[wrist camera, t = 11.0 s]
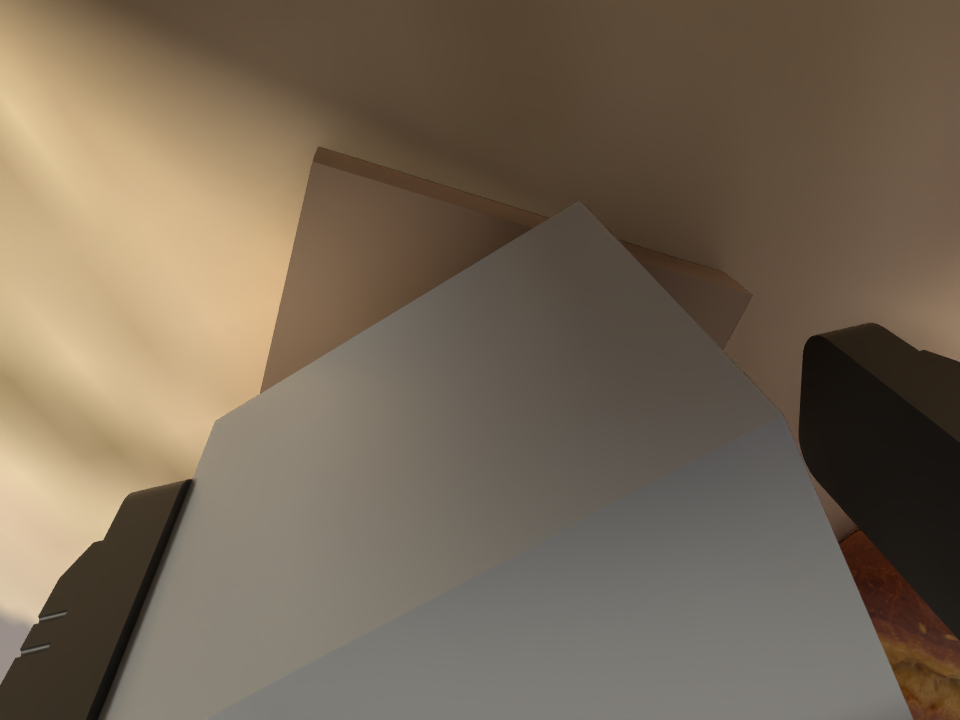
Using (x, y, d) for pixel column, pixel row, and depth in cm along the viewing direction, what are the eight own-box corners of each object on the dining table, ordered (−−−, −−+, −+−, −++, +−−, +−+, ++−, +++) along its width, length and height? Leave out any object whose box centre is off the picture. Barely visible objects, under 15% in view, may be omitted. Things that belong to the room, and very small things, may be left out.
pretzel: (824, 815, 22) (901, 958, 19) (601, 700, 17) (651, 861, 14) (1175, 591, 19) (1344, 717, 15) (1009, 380, 14) (1198, 495, 11)
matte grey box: (579, 199, 9) (783, 414, 4) (730, 490, 11) (949, 804, 7) (215, 420, 9) (70, 789, 5) (436, 642, 12) (466, 1006, 8)
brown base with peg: (724, 273, 12) (1009, 500, 6) (571, 567, 14) (680, 890, 9) (318, 146, 10) (250, 322, 5) (234, 513, 13) (134, 880, 7)
